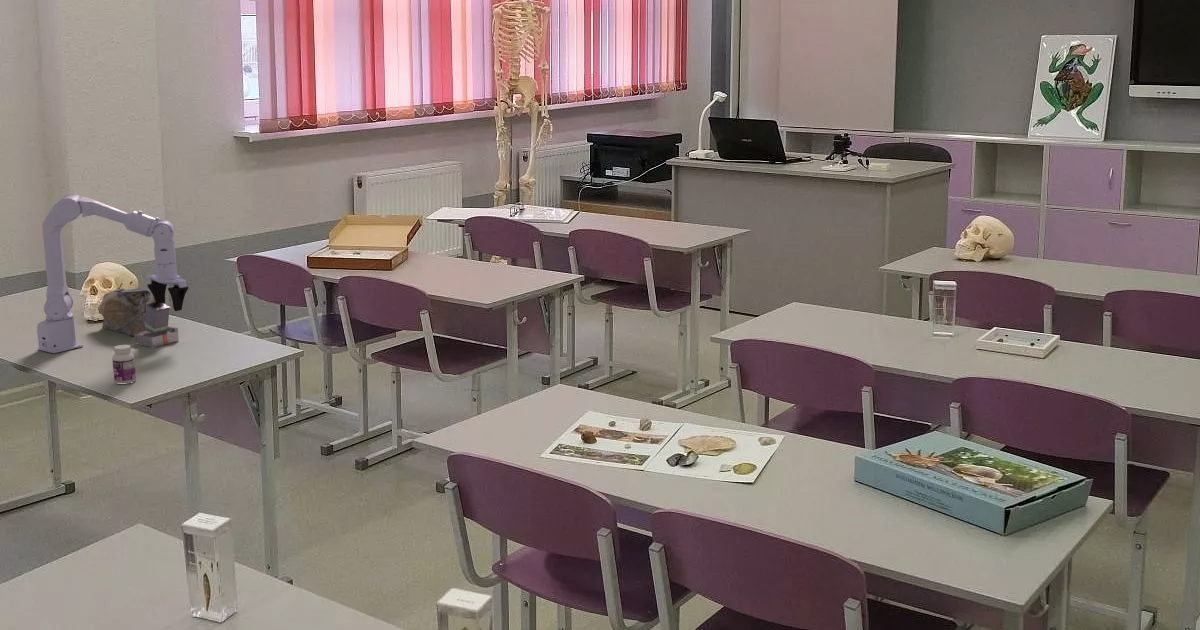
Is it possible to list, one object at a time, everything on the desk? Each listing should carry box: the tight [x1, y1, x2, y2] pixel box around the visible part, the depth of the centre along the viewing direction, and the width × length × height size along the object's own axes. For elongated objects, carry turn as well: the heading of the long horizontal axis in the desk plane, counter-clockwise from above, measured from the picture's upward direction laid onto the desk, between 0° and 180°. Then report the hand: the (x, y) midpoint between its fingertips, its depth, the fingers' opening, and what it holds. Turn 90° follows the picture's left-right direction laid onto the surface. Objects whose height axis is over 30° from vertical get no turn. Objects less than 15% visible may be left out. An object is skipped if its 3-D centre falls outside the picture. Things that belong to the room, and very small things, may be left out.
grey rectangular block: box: [145, 301, 171, 335], centre depth 351 cm, size 5×5×8 cm
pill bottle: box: [111, 344, 137, 384], centre depth 313 cm, size 5×5×10 cm
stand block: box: [133, 325, 180, 348], centre depth 353 cm, size 9×8×4 cm
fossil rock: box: [97, 288, 155, 337], centre depth 366 cm, size 20×9×15 cm, turn 54°
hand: (169, 308), depth 352 cm, fingers open, 7 cm apart
